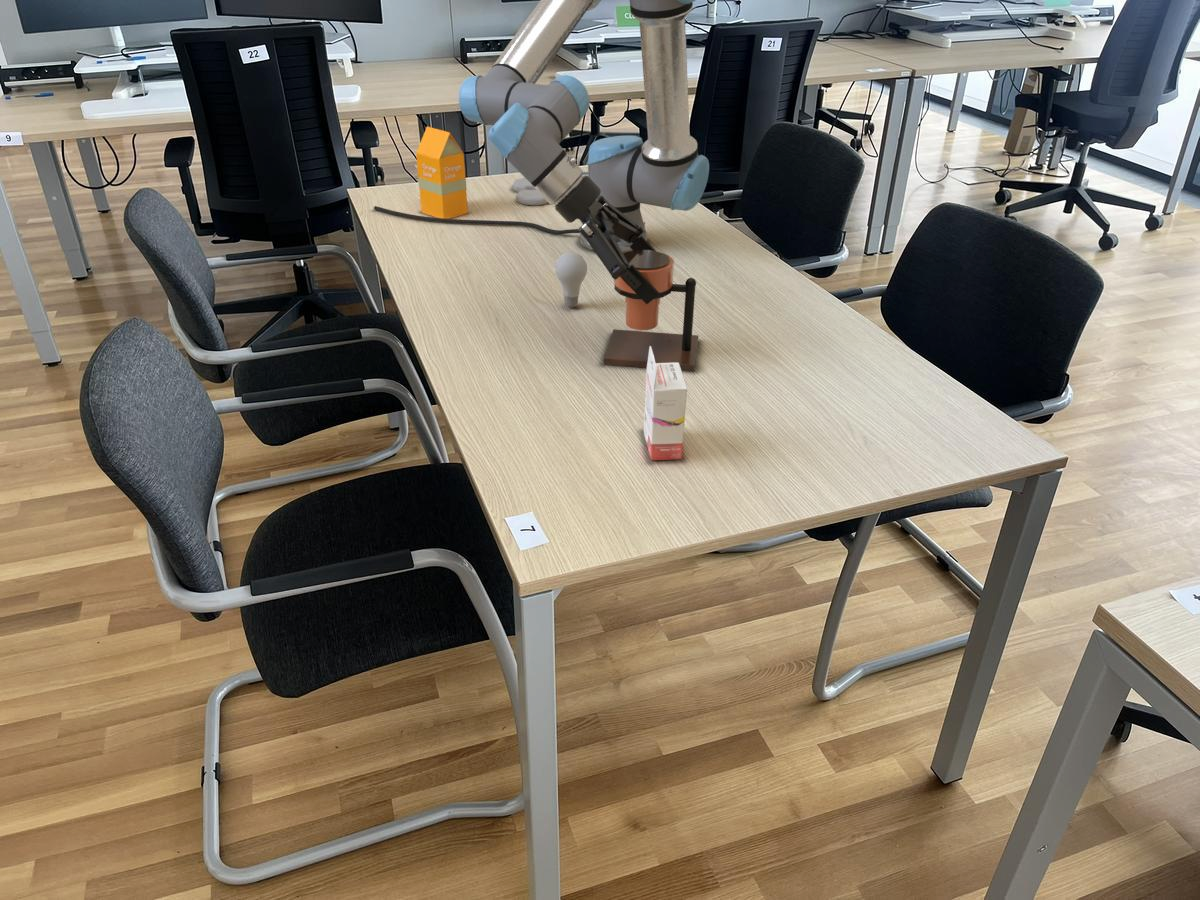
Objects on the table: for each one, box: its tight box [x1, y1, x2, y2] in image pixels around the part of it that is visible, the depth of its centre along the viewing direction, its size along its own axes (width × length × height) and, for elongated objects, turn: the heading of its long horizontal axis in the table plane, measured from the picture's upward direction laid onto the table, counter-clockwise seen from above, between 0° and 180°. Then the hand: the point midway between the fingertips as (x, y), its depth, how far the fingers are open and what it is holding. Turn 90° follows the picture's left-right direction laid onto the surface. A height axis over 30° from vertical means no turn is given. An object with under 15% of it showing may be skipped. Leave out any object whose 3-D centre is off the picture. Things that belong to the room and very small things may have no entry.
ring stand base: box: [603, 329, 700, 372], centre depth 162 cm, size 16×12×1 cm
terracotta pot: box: [613, 250, 675, 331], centre depth 157 cm, size 10×10×12 cm
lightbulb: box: [554, 251, 588, 309], centre depth 176 cm, size 6×6×11 cm
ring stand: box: [613, 277, 697, 351], centre depth 159 cm, size 14×10×13 cm
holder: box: [512, 170, 588, 206], centre depth 240 cm, size 19×34×5 cm, turn 100°
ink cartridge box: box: [643, 346, 688, 461], centre depth 133 cm, size 9×5×15 cm, turn 5°
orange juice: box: [415, 125, 469, 219], centre depth 221 cm, size 8×9×20 cm
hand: (657, 283), depth 156 cm, fingers open, 13 cm apart
